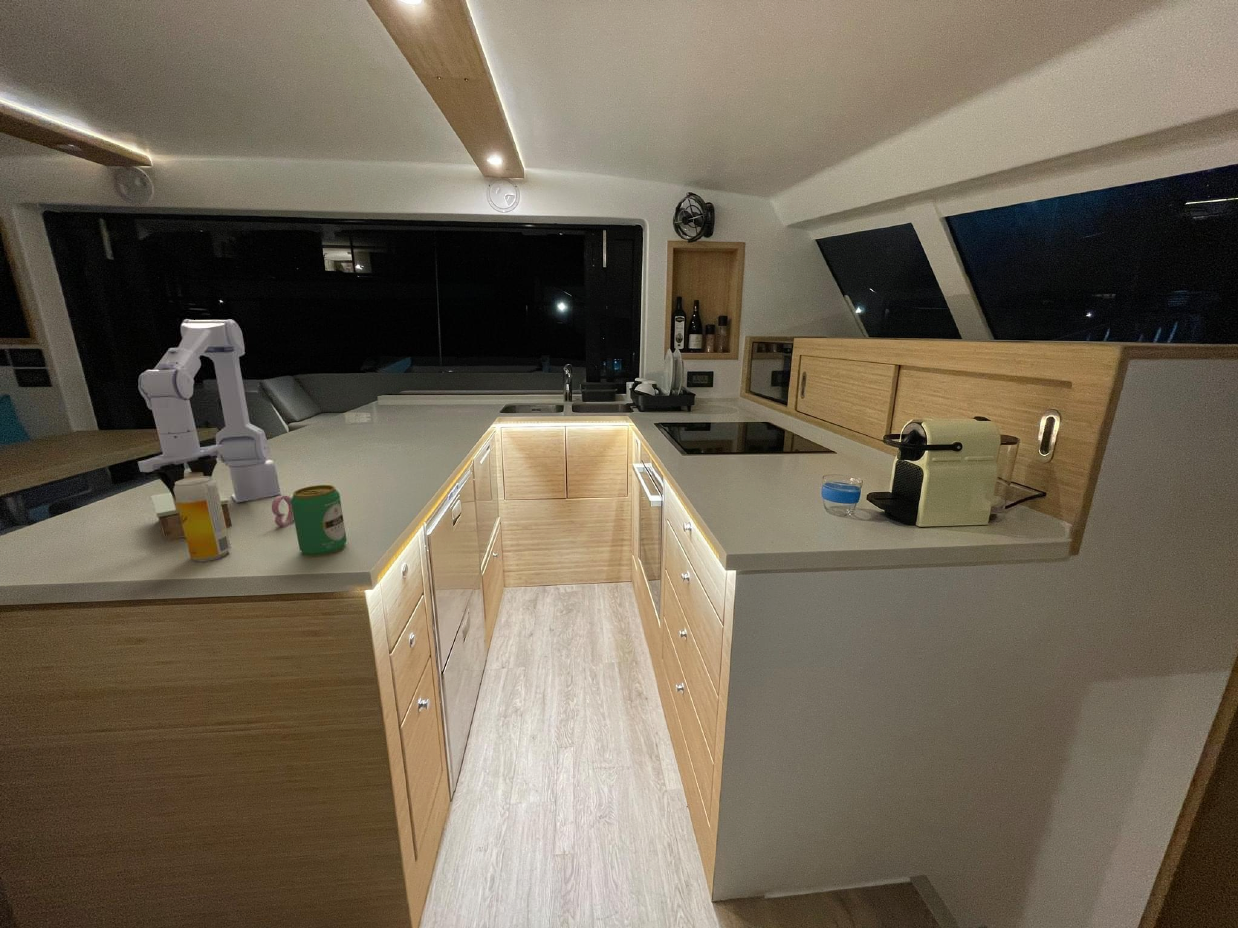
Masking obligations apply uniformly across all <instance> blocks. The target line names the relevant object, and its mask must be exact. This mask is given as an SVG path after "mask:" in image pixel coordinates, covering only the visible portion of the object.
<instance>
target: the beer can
mask: <svg viewBox="0 0 1238 928" xmlns="http://www.w3.org/2000/svg"><path fill="white" fill-rule="evenodd" d="M217 484H218V483H217V482H216V481H215V479H213V476H212V477H210V476H199V477H192V478H186V479H182V480H179V481H177V482H175V486H174V489H173V490H174V494H175V498H176V502H177V506H178V510H179V514H180V518H181V522H182V526H183V530H184V534H185V536H184V537H185V542H186V546H187V551H188V553H189V558H191V559H193V560H194V561H195V562H208V561H214V560H217V559H221V558H223V557H225V556H226V555H228V554H229V551H230V550H231V549H232V547H231V543H230V538H229V534H228V529H227V528H228V527H226V524H225V519H224V515H223V510H222V506H221V501H220V497H219V493H218V488H217V486H218V485H217Z"/></svg>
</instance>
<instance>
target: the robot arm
mask: <svg viewBox="0 0 1238 928" xmlns="http://www.w3.org/2000/svg"><path fill="white" fill-rule="evenodd" d="M180 335H181V338H182V339H181V341H180V342H179V345H178V346H177V347H170V348H168V350H167V351H166V353H165V354H164V355H163V356H162V358H161V359H160V360H159V362H158V363H156V366H155V367H154V368H152V369H147V370H145V371H144V372H142V373H141V374H140V375H139V377H138V386H137V387H138V391H139V393H140V395H141V396H142V397H143V398H144V400H145V403H146V406H147V408H148V409H149V410H151V411H152V416H153V419H154V423H155V427H156V431H157V435H158V438H159V439H158V440H159V442H160V447H161V452H162V454H159V455H158V456H154V457H151V458H147V459H144V460H140V461H137V463H138V468H139V472H140V473H141V472H142V473H150V472H152V474H153V475H154V476H156V478H158V479H159V480H160V482H161V483H163V485H165V486H166V488H167V490H168V491H169V493H171V494H172V495H173V497H174V499H175V501H176V498H175V494H174V490H173V489H174V486H175V482H177V481H179V480H182V479H184V472H185V470H186V469H185V468H184V467H183V468H182V467H178V465H181V464H184V463H186V464H187V466H188V468H189V469H190V472H203V475H204V476H210V477H212V478H213V473H214V470H215V468H216V465H217V464H218V461H220V462H221V463H222V464H224V465H225V467H228V469H229V474H230V480H231V483H232V488H233V493H232V494H231V495H230V496H231V498H232V499H233V500H234V501H235V503H236V504H237V503H238V504H239V503H244V502H249V501H254V500H258V499H259V500H260V499H264V498H269V497H273V496H281V495H282V493H281V488H280V484H279V483H280V482H279V479H278V478H279V477H278V473H277V468H276V464H275V462H274V461H273V460H272V459H268V458H269V456H270V444H269V441H268V439H267V437H266V433H265V431H264V430H263V429H262V428H260V427H258V426H256V425H254V424H252V423H251V422H250V417H249V411H248V405H247V401H246V394H245V389H244V383H243V377H242V372H241V366H240V357H242V356H244V355H245V354H246V352H245V349H246V348H245V342H244V337H243V332H242V330H241V327H240V326H239V324H238V323H237V322H236V321H235V320H234V319H195V320H194V319H188V318H186V319H183V320H182V322H181V325H180ZM201 356H204V357H207V358H209V359H210V360H212V362H213V365H214V366H213V367H214V370H215V375H216V381H217V387H218V392H219V393H218V394H219V398H220V402H221V409H222V414H223V419H224V425H225V426H224V427H223V428H221V430H219V432H217V433H216V435H215V444H212V445H207V446H203V447H201V445H200V440H199V437H198V431H197V428H196V422H195V419H194V415H193V410H192V407H191V401H190V399H191V397H192V396H193V394H194V384H195V380H194V378H195V376H196V374H197V373H198V371H199V370H200V368H201V366H202V363H201V359H200V357H201ZM213 456H216V457H217V458H215V457H213ZM217 459H218V461H217Z"/></svg>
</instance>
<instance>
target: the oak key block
mask: <svg viewBox="0 0 1238 928" xmlns="http://www.w3.org/2000/svg"><path fill="white" fill-rule="evenodd" d="M199 476H204V475H203V472H191V471H184V479H186V478H192V477H199ZM172 498H173V501H174V505H175V509H176V510H178V506H177V502H176V501H175V499H174V497H173V495H172Z"/></svg>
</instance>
